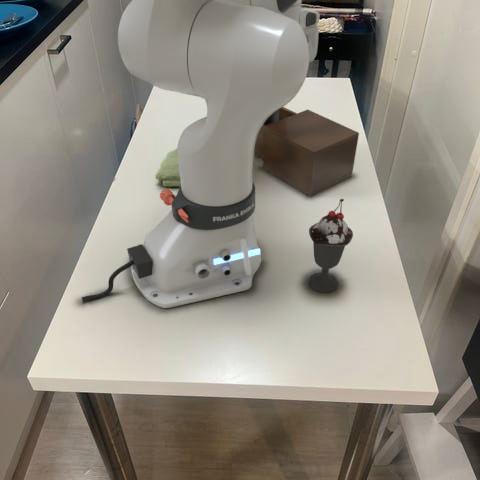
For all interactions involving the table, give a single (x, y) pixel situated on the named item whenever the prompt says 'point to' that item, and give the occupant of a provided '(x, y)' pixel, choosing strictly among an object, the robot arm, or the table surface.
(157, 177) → the washcloth
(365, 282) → the table surface
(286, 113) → the drawer
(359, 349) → the table surface
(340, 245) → the sundae
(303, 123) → the cabinet
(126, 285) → the table surface
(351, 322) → the table surface
